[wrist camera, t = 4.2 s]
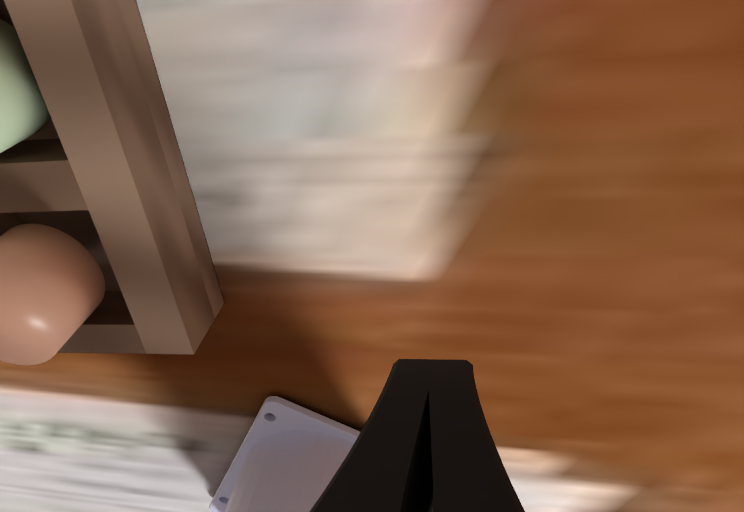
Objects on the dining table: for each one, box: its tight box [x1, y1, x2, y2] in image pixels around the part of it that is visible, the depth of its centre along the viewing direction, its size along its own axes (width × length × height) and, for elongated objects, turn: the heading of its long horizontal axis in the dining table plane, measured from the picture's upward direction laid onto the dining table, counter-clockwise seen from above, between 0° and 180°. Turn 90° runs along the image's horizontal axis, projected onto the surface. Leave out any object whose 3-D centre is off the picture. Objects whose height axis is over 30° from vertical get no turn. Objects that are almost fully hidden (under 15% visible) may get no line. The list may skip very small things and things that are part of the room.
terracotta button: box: [0, 224, 105, 365], centre depth 18 cm, size 4×4×2 cm
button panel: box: [0, 0, 224, 354], centre depth 17 cm, size 19×8×3 cm, turn 6°
